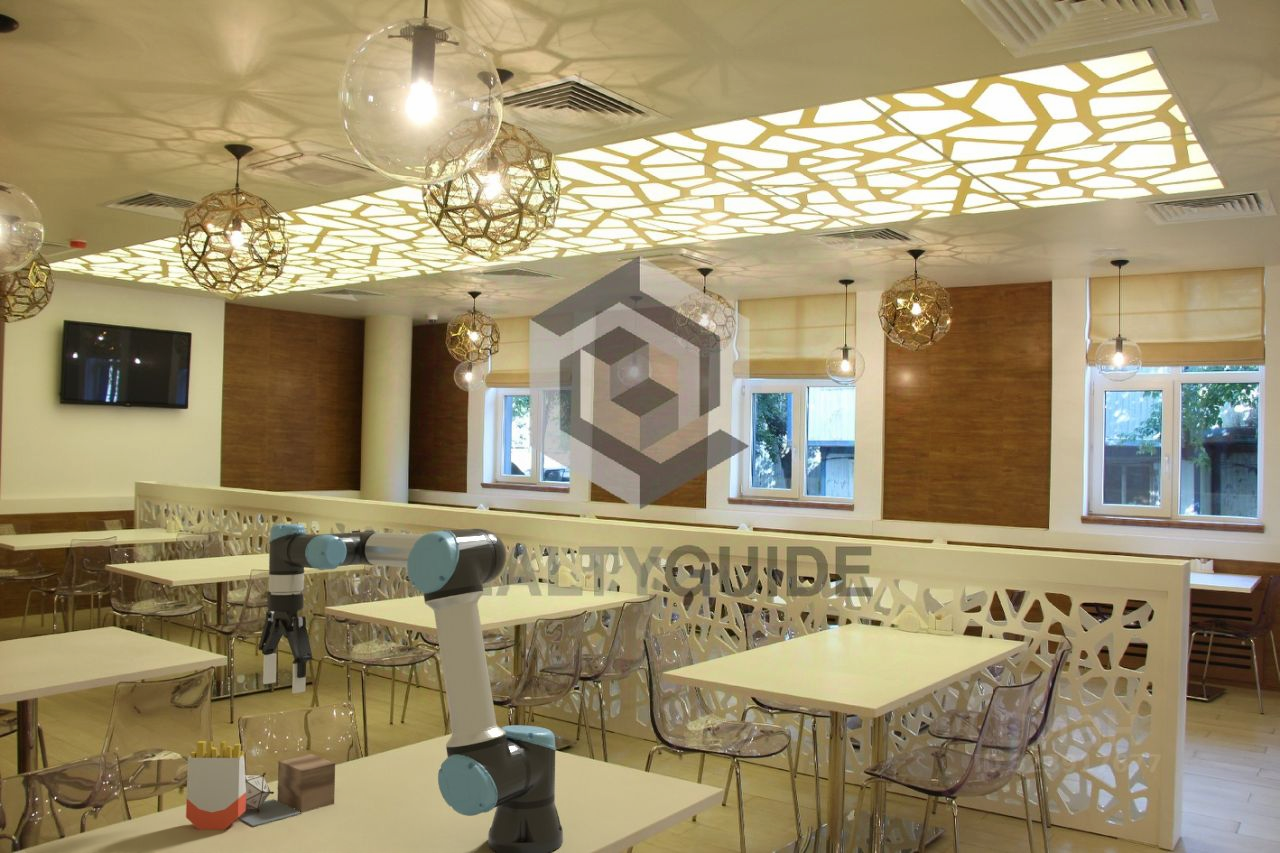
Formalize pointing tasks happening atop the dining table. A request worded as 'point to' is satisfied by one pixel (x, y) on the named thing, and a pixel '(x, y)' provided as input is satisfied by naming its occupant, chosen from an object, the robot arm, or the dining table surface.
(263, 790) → the game die
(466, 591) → the robot arm
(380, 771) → the dining table surface
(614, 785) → the dining table surface
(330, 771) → the cardboard box
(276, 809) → the mat
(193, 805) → the french fries container
